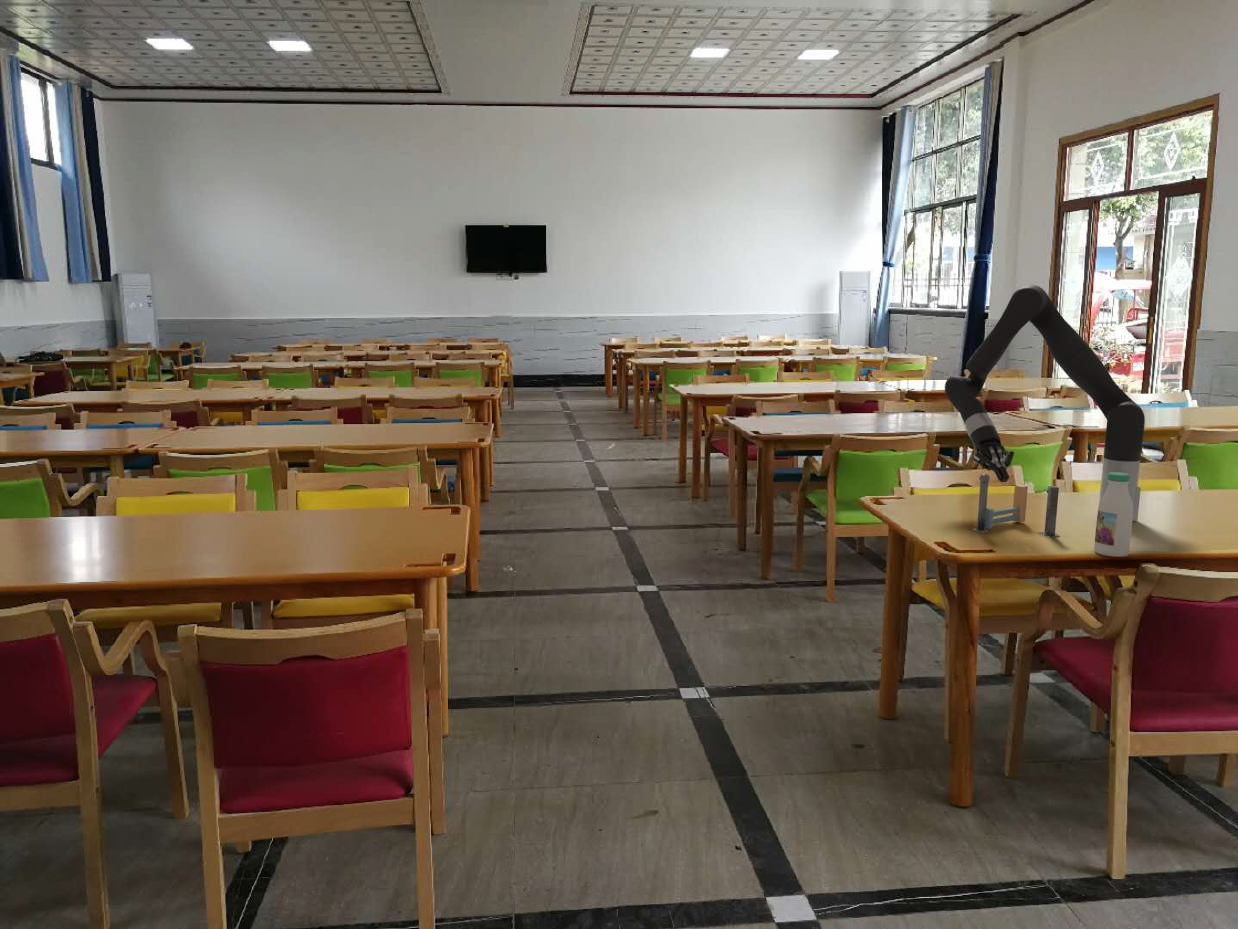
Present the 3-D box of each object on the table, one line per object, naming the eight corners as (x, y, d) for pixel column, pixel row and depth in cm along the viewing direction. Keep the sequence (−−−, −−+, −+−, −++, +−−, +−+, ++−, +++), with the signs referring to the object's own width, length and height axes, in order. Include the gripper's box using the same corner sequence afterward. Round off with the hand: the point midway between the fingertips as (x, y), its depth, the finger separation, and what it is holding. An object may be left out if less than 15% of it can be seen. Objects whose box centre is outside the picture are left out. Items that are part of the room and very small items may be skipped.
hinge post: (985, 529, 257) (989, 472, 254) (990, 532, 253) (995, 475, 250) (970, 529, 257) (974, 472, 254) (975, 532, 253) (980, 475, 250)
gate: (989, 528, 255) (992, 492, 253) (982, 527, 257) (984, 490, 255) (1024, 521, 264) (1027, 486, 262) (1017, 519, 266) (1019, 484, 264)
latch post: (1039, 532, 253) (1043, 485, 251) (1054, 533, 253) (1058, 485, 250) (1044, 536, 249) (1048, 488, 247) (1060, 537, 249) (1064, 488, 246)
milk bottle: (1121, 550, 236) (1129, 470, 233) (1134, 558, 229) (1142, 476, 225) (1088, 549, 237) (1096, 470, 234) (1101, 557, 230) (1109, 476, 226)
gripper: (968, 424, 274) (991, 474, 265) (1008, 423, 278) (1032, 472, 268) (956, 440, 280) (978, 489, 271) (995, 439, 284) (1018, 487, 274)
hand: (1005, 480), depth 269 cm, fingers closed
